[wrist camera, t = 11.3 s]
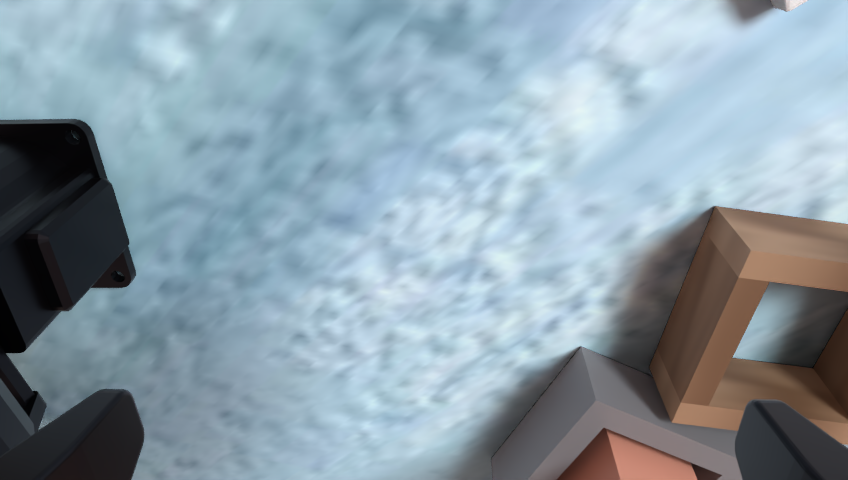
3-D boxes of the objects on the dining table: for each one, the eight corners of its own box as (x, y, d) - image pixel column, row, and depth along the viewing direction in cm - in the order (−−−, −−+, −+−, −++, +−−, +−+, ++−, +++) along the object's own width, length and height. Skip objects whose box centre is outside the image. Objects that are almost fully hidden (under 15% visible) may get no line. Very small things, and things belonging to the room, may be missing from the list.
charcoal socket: (491, 458, 28) (495, 517, 26) (581, 346, 25) (595, 400, 22) (627, 509, 30) (643, 570, 27) (730, 410, 26) (760, 467, 24)
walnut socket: (648, 367, 25) (671, 422, 23) (714, 206, 22) (751, 250, 19) (825, 389, 25) (868, 447, 23) (920, 234, 22) (984, 281, 19)
